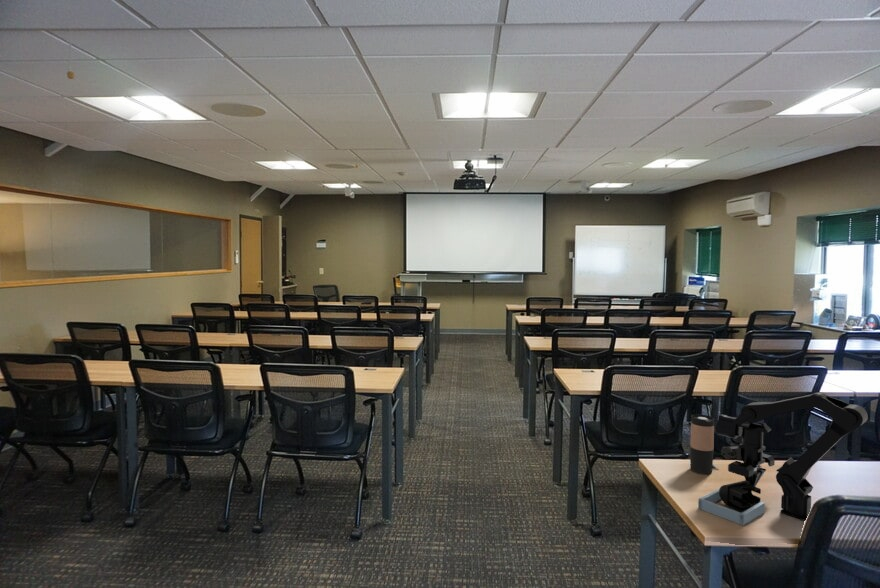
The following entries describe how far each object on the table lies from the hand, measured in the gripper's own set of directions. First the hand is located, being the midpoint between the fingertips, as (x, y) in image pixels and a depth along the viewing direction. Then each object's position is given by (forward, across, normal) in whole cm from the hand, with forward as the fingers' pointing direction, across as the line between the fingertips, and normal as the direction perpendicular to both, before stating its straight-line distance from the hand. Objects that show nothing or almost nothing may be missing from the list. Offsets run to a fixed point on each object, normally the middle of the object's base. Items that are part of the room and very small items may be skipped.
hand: (750, 490), depth 162 cm
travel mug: (+3, -10, -22) cm, 24 cm away
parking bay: (+3, +13, 0) cm, 14 cm away
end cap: (+3, +7, 0) cm, 8 cm away
